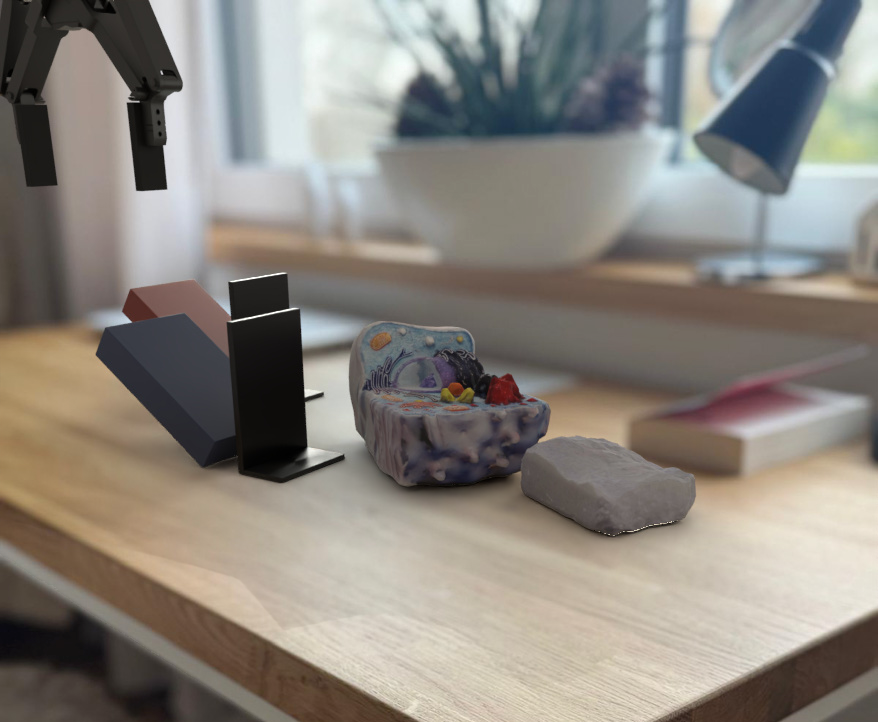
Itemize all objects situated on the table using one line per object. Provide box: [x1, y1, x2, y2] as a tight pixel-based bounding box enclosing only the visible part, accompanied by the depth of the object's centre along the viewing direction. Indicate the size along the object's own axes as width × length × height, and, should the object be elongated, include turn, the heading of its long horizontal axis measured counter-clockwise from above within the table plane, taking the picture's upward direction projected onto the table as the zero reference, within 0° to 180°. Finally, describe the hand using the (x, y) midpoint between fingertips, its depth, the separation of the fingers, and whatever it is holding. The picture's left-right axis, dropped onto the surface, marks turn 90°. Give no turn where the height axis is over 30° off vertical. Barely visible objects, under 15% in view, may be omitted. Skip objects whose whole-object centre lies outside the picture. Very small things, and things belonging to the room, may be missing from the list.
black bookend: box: [227, 272, 325, 402], centre depth 107 cm, size 5×8×12 cm, turn 147°
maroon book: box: [121, 278, 231, 357], centre depth 113 cm, size 14×9×3 cm
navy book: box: [94, 313, 237, 469], centre depth 92 cm, size 14×9×3 cm
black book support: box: [227, 307, 346, 484], centre depth 86 cm, size 5×8×12 cm, turn 147°
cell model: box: [348, 320, 552, 488], centre depth 87 cm, size 13×11×20 cm
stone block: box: [520, 435, 697, 536], centre depth 78 cm, size 12×5×10 cm
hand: (95, 188), depth 91 cm, fingers open, 13 cm apart
